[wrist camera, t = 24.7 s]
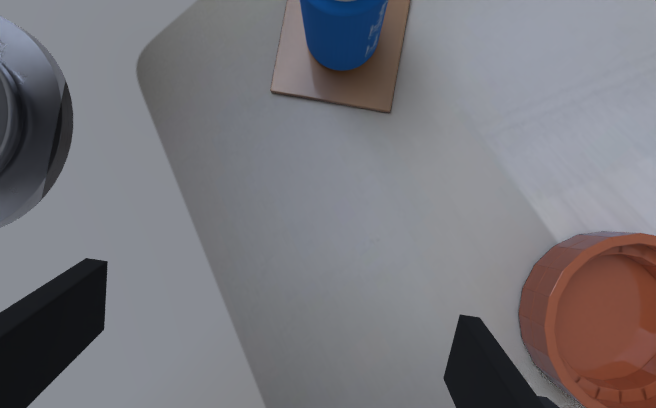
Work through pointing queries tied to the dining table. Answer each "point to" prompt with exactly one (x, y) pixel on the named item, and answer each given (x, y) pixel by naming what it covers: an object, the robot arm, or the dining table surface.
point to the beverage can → (342, 30)
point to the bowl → (595, 318)
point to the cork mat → (334, 85)
